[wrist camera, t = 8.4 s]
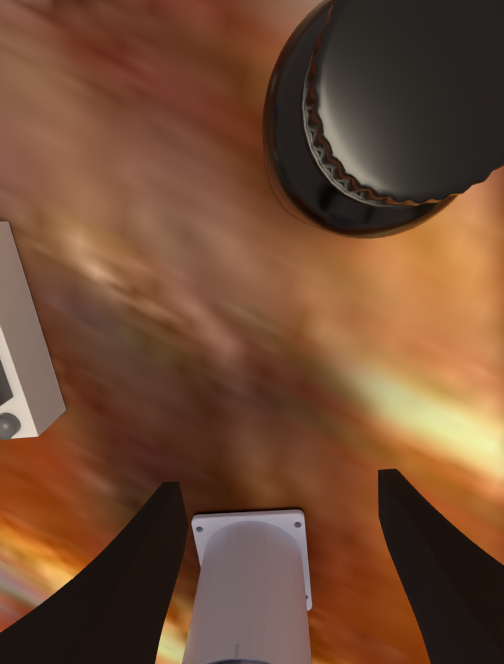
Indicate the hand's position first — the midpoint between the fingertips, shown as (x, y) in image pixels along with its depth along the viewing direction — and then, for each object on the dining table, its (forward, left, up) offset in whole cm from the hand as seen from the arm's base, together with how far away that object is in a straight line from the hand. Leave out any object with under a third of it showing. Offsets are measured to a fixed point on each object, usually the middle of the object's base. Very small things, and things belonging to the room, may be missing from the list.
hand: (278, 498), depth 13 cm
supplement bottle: (+12, -4, -10) cm, 16 cm away
